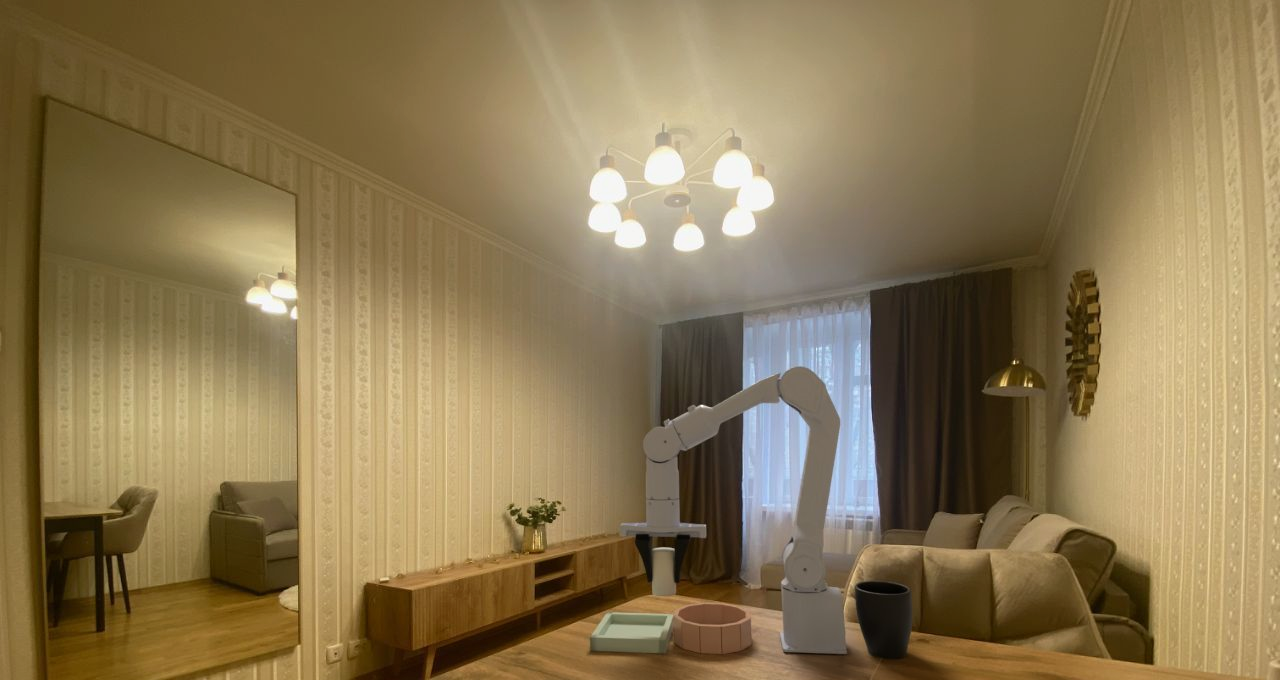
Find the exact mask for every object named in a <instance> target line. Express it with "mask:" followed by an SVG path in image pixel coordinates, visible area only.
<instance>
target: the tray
mask: <svg viewBox="0 0 1280 680" xmlns="http://www.w3.org/2000/svg"><path fill="white" fill-rule="evenodd" d="M673 614H674V613H649V612H648V613H645V612H644V613H643V612H616V611H615V612H614V611H613V612H611V611H608V612H606V613H605V615H604V616H603V618H602V619H601V621H600V622H599V624H598V625H597V627H596V628H595V630H594V631H593V632H592V634H591V635H590V637H589V641H590V642H589V650H590V651H594V652H615V653H618V652H621V653H640V654H641V653H643V654H645V653H646V654H667V651H668V647H669V644H670V640H671V638H672V636H673V635H672V634H673Z"/></svg>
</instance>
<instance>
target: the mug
mask: <svg viewBox="0 0 1280 680" xmlns="http://www.w3.org/2000/svg"><path fill="white" fill-rule="evenodd" d="M854 596H855V597H854V598H855V610H856V616H857V620H858V625H859V627H860V631H861V634H862V637H863V640H864V642H865V646H866V649H867V652H868V653H869V654H871V655H872V656H875V657H877V658H881V659H887V660H898V659H903V658H905V657H907V653H908V647H909V644H910V639H911V634H912V629H913V628H912V626H913V617H914V616H913V613H914V610H913V609H914V608H913V596H912V589H911V588H910V587H908V586H906V585H904V584H902V583H901V584H900V583H896V582H893V581H885V580H884V581H883V580H874V579H871V580H867V581H860V582H857V583H855V585H854Z"/></svg>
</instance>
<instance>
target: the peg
mask: <svg viewBox="0 0 1280 680" xmlns="http://www.w3.org/2000/svg"><path fill="white" fill-rule="evenodd" d="M651 589H652V593H651V594H652V595H654V596H656V597H672V596H675V595H676V594H677V583H675V548H674V547H673V548H672V547H664V546H663V547H655V548H652V582H651Z"/></svg>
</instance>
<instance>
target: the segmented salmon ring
mask: <svg viewBox="0 0 1280 680" xmlns="http://www.w3.org/2000/svg"><path fill="white" fill-rule="evenodd" d="M672 614H673V631H672V634H673V635H672V636H673V642H674V644H676V645H677V646H678V647H680V648H681V649H682V650H687V651H691V652H694V653H698V654H707V655H708V654H710V655H712V654H713V655H725V654H731V653H735V652H741V651H743V650H745V649H747V648H749V647H750V646H752V645H753V641H752V640H753V638H752V637H753V636H752V617H751V611H750V610H748V609H746V608H744V607H743V606H739V605H735V604H729V603H722V602H700V603H691V604H685V605H683V606H681V607H678V608H676V609H674V611H673V613H672Z"/></svg>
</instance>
